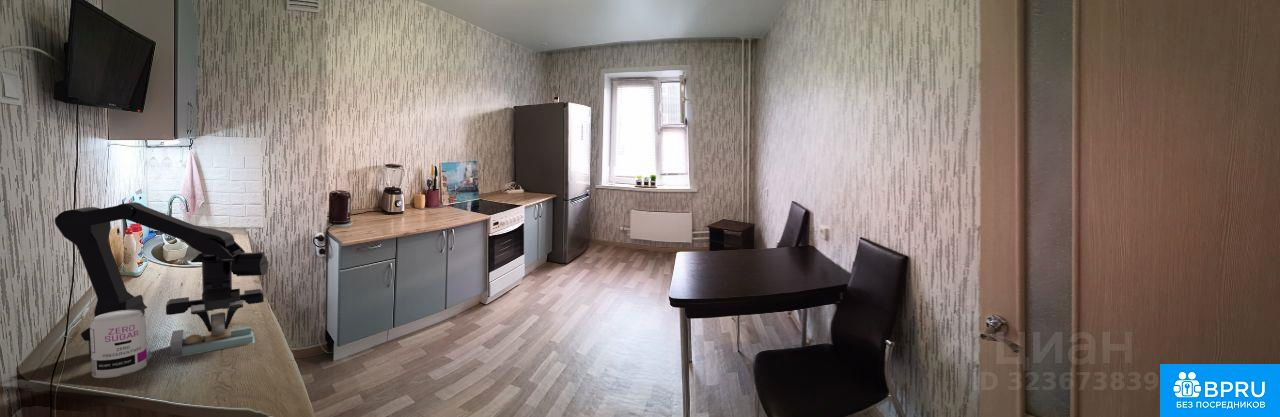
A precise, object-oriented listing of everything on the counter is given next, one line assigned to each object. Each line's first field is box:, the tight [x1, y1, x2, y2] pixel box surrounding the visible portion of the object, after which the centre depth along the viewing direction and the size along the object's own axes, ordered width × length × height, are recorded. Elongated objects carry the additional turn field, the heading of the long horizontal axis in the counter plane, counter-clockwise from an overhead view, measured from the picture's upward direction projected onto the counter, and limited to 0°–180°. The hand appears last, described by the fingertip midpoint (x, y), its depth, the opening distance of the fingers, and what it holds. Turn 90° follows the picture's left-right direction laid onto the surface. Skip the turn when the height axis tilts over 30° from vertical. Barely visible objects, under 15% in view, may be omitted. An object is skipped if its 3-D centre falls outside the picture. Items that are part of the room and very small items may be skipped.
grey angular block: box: [169, 329, 185, 358], centre depth 109 cm, size 2×9×4 cm, turn 47°
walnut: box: [184, 333, 203, 346], centre depth 111 cm, size 4×4×4 cm
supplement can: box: [89, 310, 148, 379], centre depth 98 cm, size 8×8×15 cm
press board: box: [170, 325, 256, 359], centre depth 114 cm, size 16×10×3 cm, turn 137°
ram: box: [205, 311, 231, 342], centre depth 114 cm, size 5×5×8 cm
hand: (218, 330), depth 114 cm, fingers closed on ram, 3 cm apart
